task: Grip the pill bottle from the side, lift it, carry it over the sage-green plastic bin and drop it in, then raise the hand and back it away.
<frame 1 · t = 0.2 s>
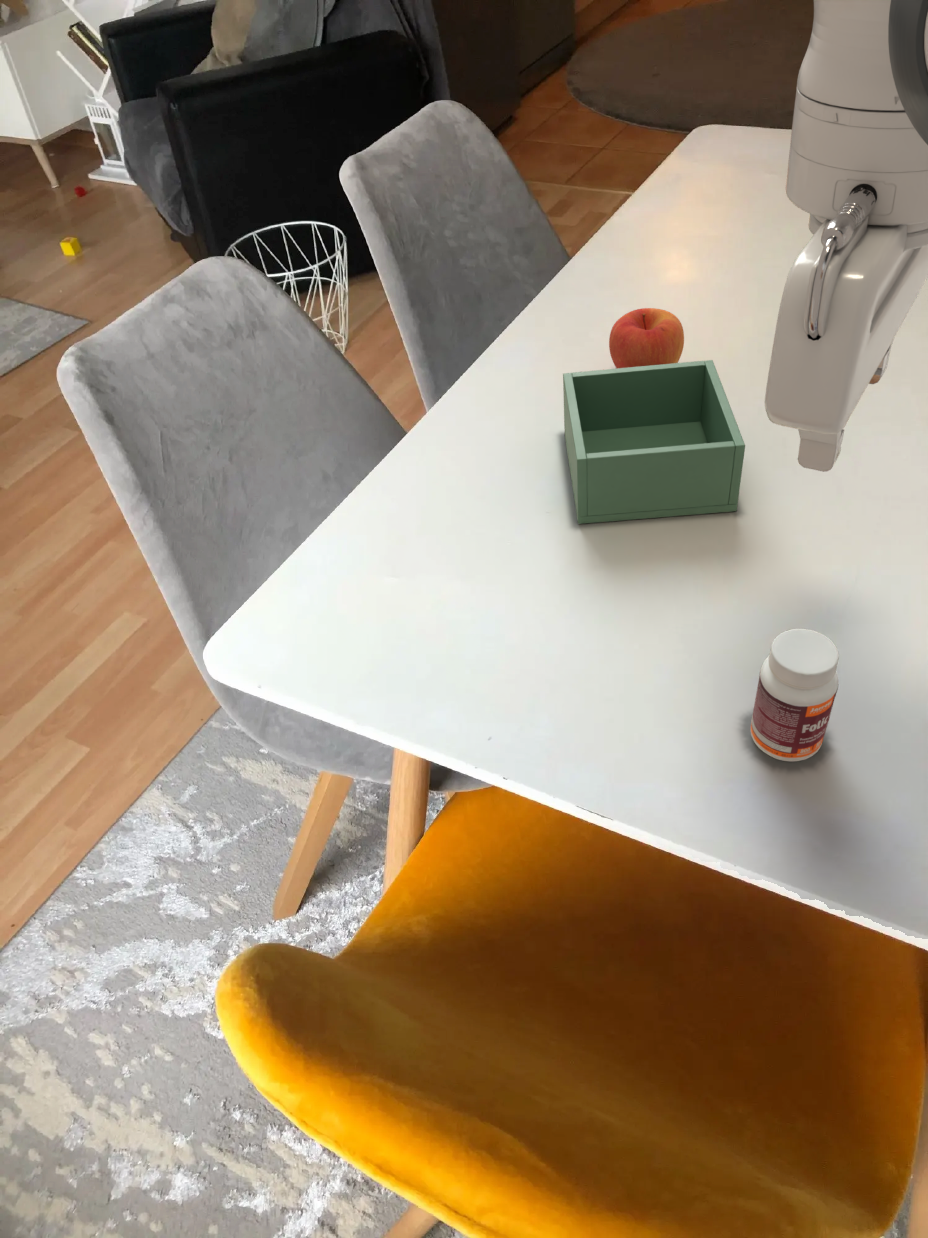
hand: (843, 417, 53), 22 cm above the table, tool pointing down, fingers open, 8 cm apart
pill bottle: (785, 737, 65), on the table
apple: (644, 380, 99), on the table
bin: (645, 471, 87), on the table
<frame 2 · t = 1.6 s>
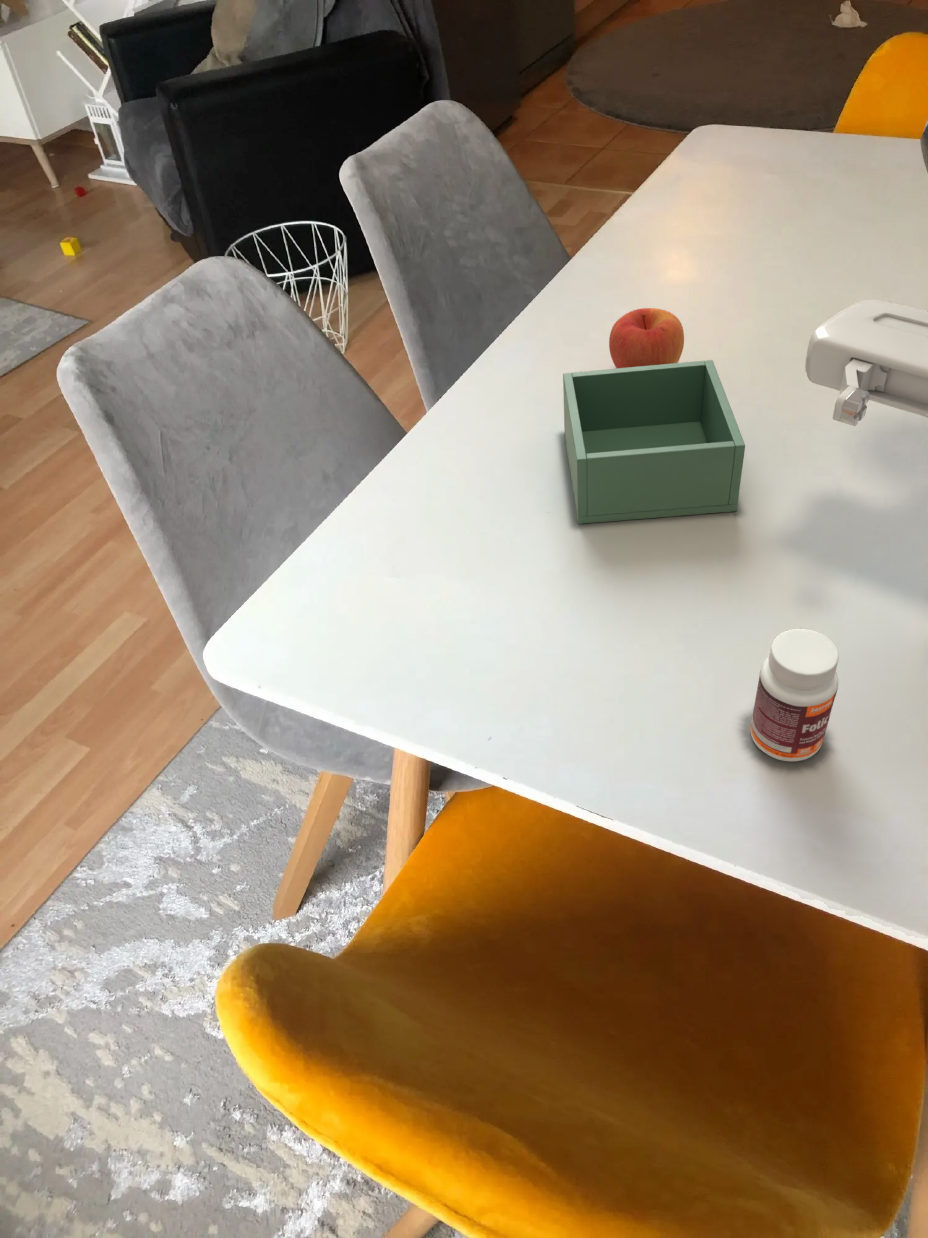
hand: (918, 436, 59), 17 cm above the table, tool horizontal, fingers open, 8 cm apart
nothing on the table moved.
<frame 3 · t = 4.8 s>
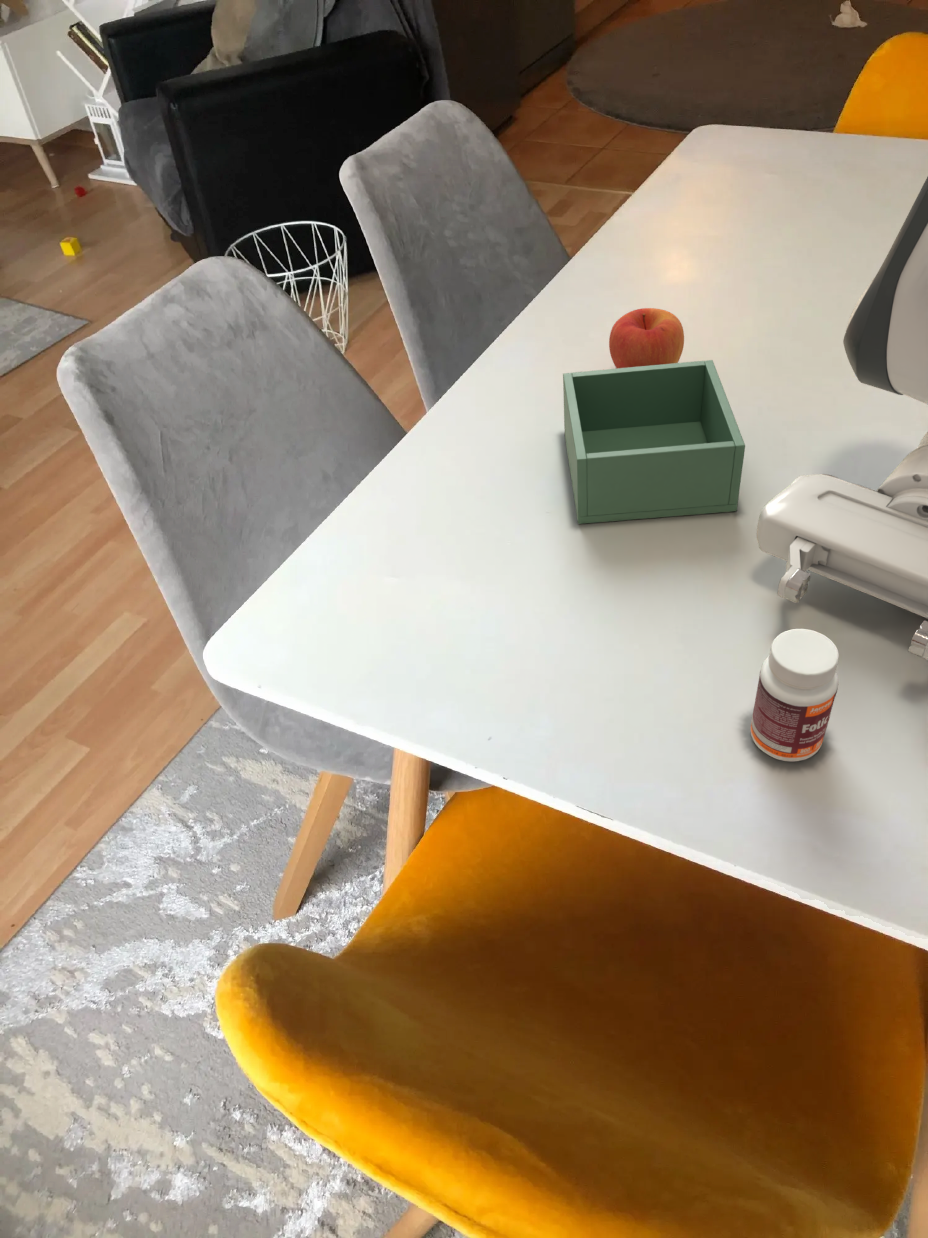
hand: (851, 620, 65), 5 cm above the table, tool horizontal, fingers open, 8 cm apart
nothing on the table moved.
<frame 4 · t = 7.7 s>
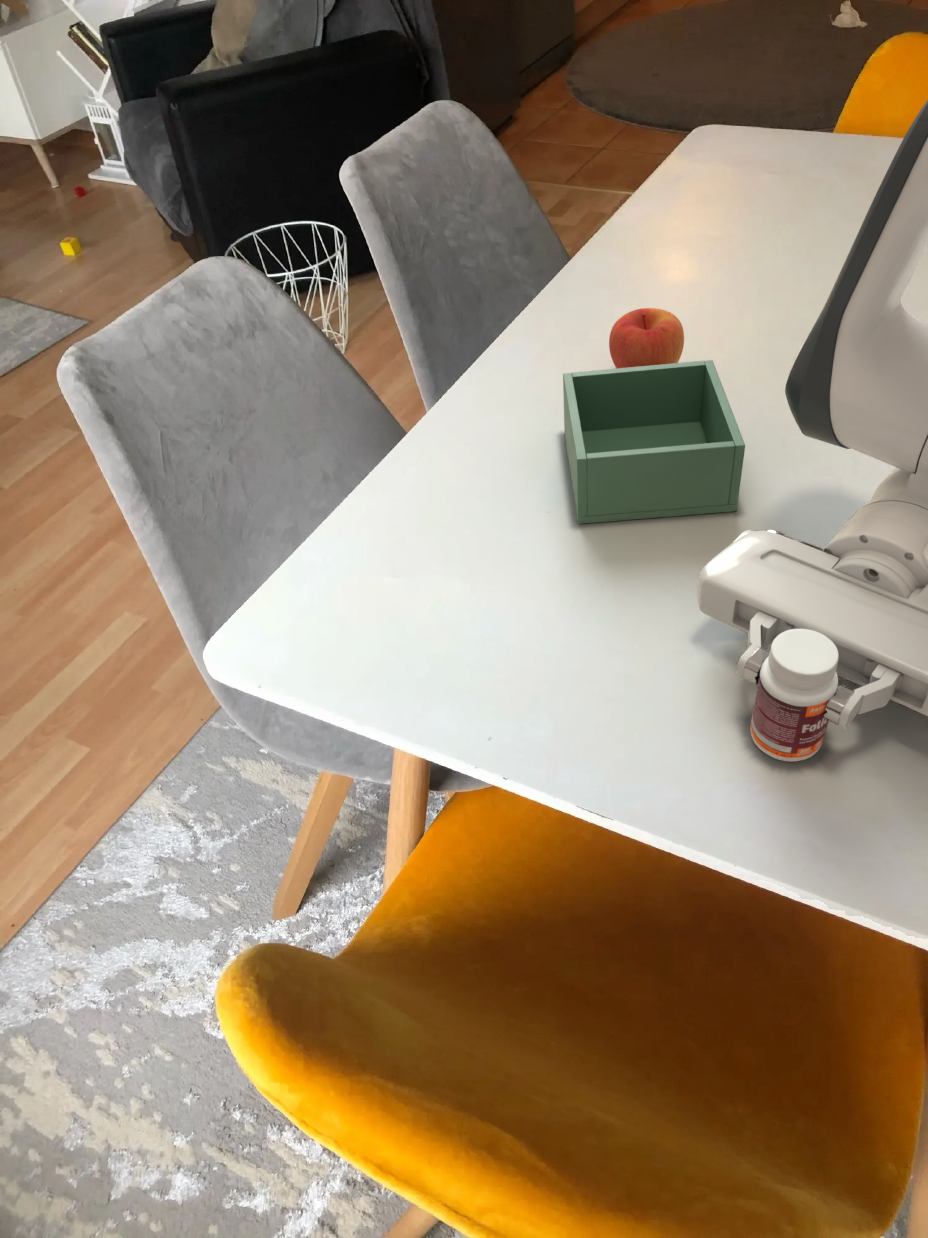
hand: (790, 695, 61), 5 cm above the table, tool horizontal, fingers closed on pill bottle, 5 cm apart
pill bottle: (785, 737, 65), on the table, touching gripper
everything else where it was.
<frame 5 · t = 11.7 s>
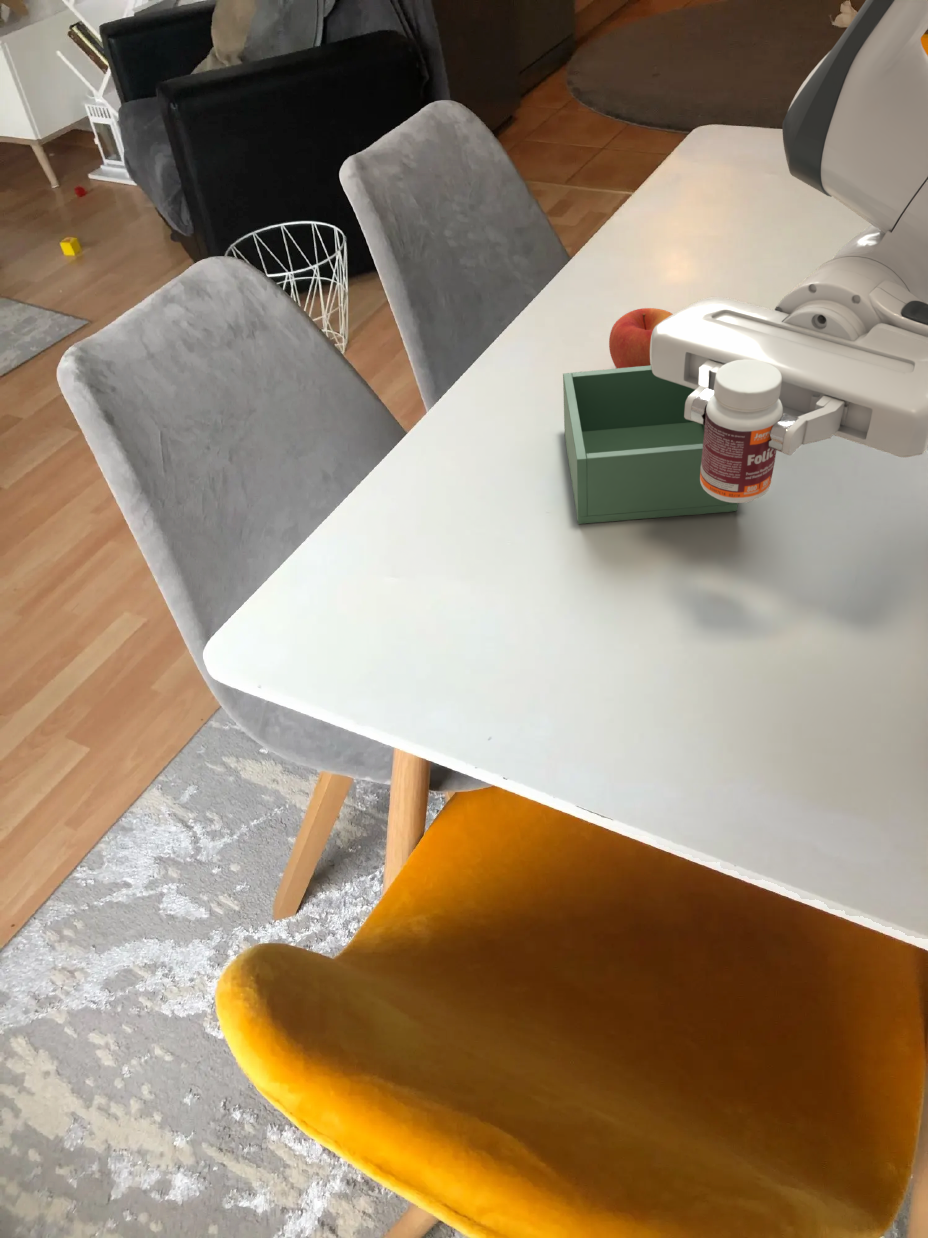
hand: (736, 427, 62), 17 cm above the table, tool horizontal, fingers closed on pill bottle, 5 cm apart
pill bottle: (734, 485, 66), point 12 cm above the table, touching gripper
everything else where it was.
when the fingers open (11 cm above the table, at t = 16.2 s): pill bottle drops 4 cm, resting on bin.
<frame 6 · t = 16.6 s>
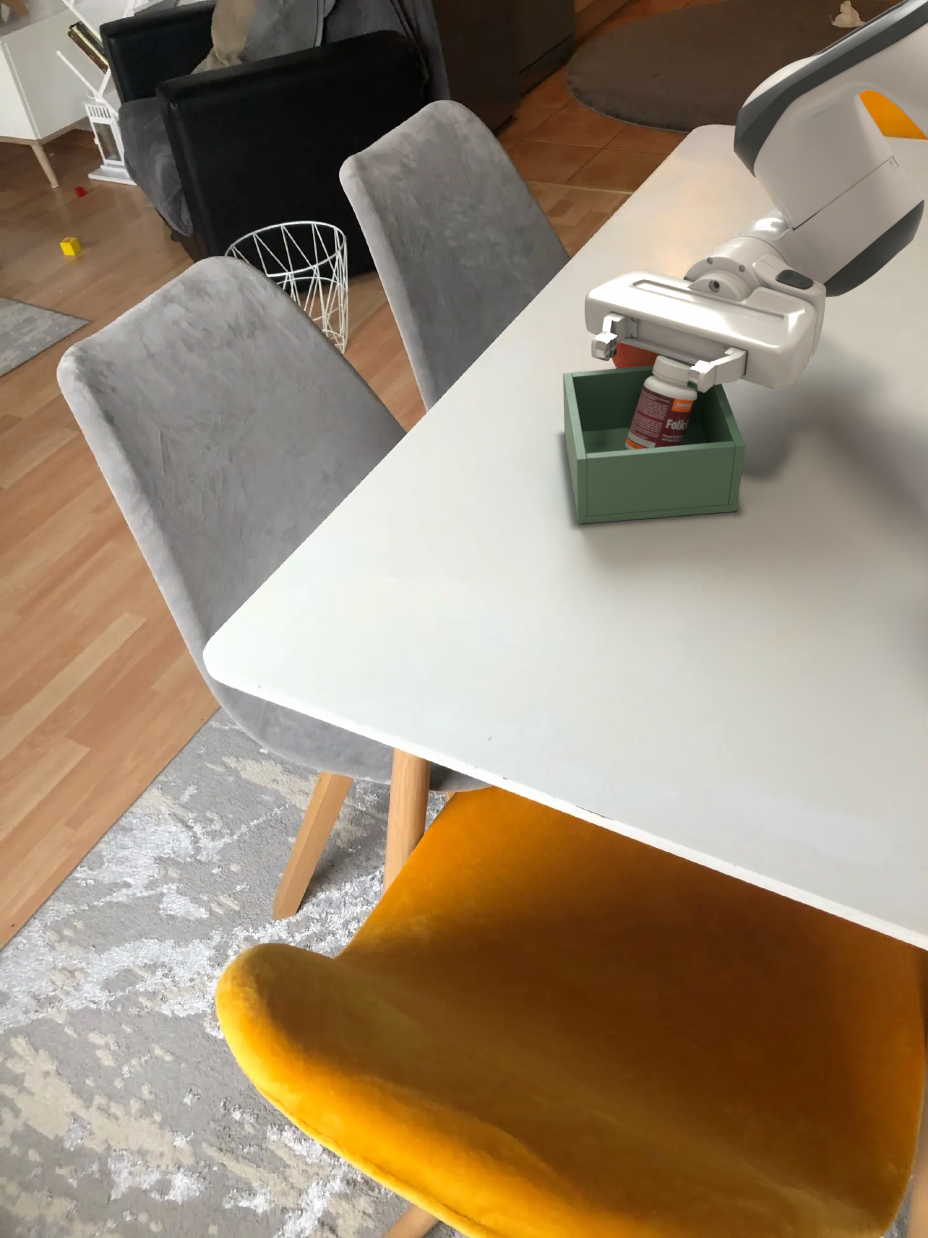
hand: (645, 366, 79), 11 cm above the table, tool horizontal, fingers open, 8 cm apart
pill bottle: (648, 455, 86), point 2 cm above the table, touching bin
everything else where it was.
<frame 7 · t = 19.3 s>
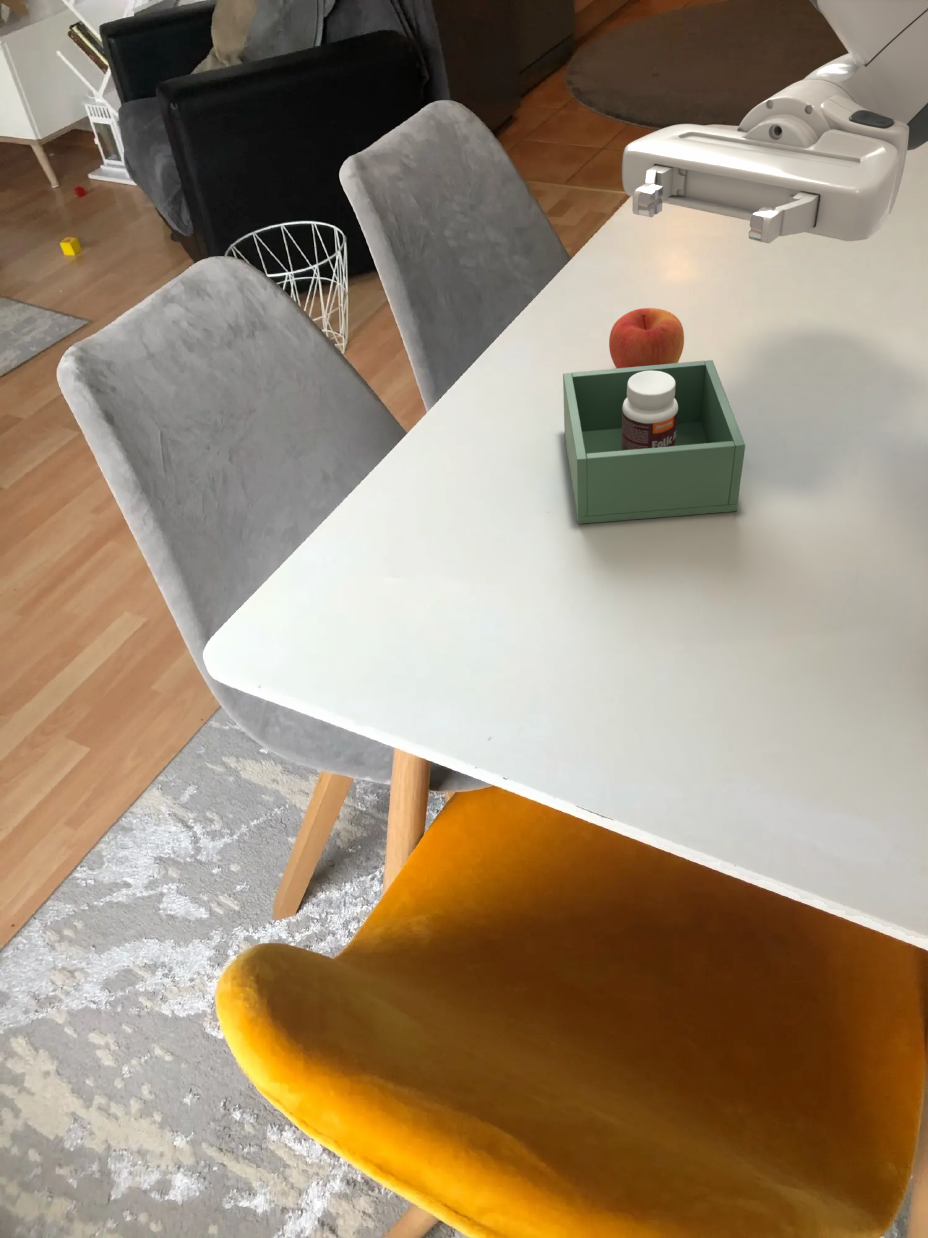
hand: (697, 217, 67), 24 cm above the table, tool horizontal, fingers open, 8 cm apart
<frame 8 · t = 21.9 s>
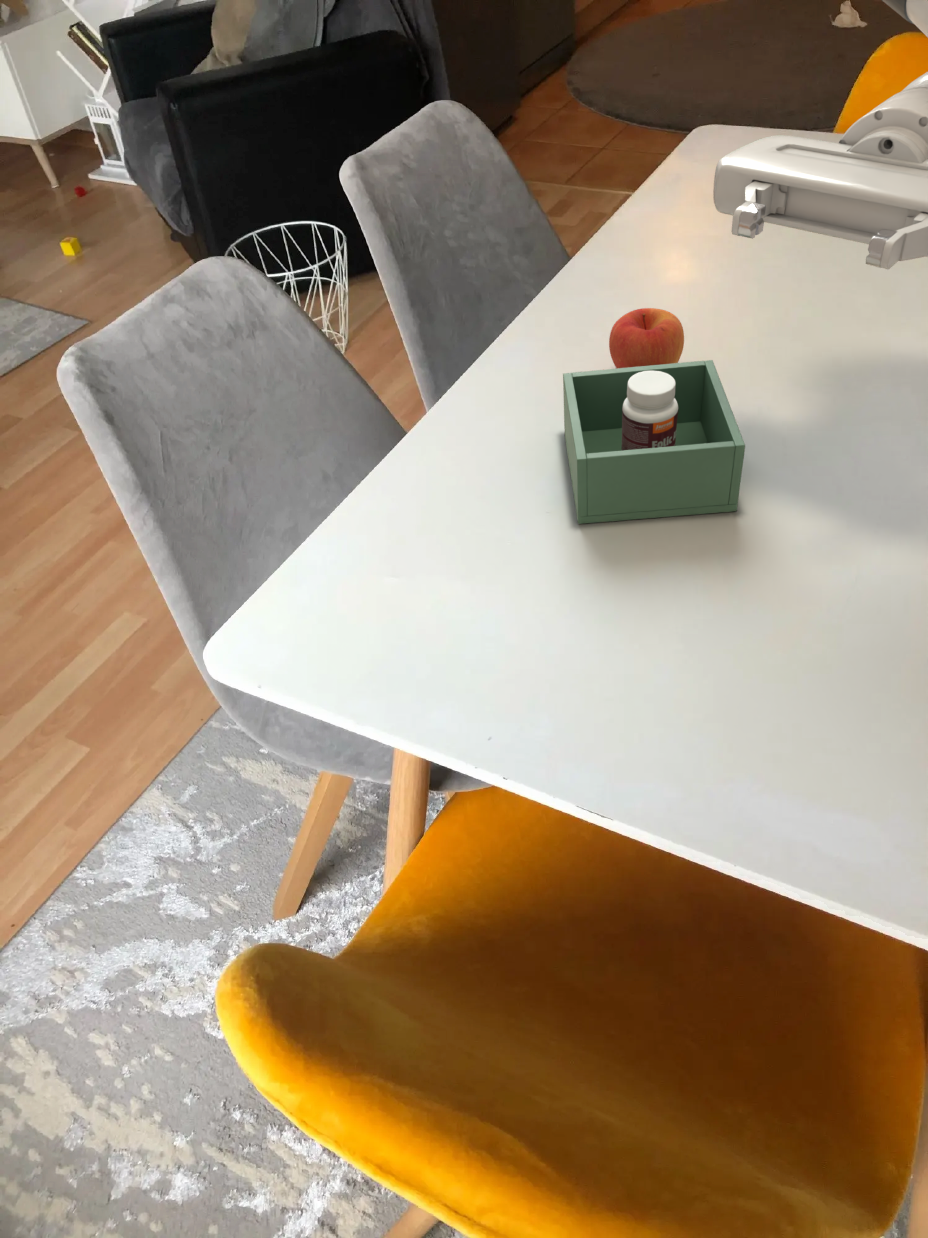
hand: (807, 240, 62), 25 cm above the table, tool horizontal, fingers open, 8 cm apart
at the end: pill bottle inside the target area in the bin (0.2 cm from its centre), point 0.6 cm above the bin's base; the gripper is holding nothing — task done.
